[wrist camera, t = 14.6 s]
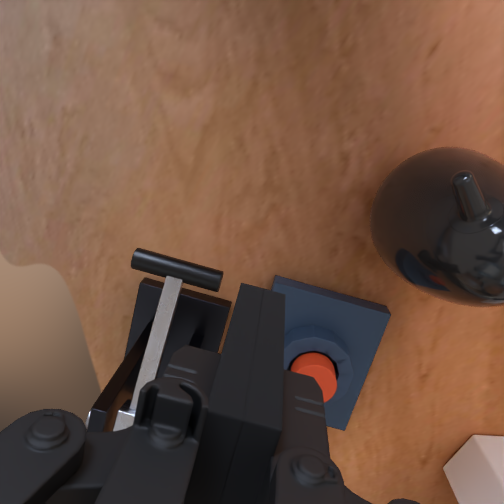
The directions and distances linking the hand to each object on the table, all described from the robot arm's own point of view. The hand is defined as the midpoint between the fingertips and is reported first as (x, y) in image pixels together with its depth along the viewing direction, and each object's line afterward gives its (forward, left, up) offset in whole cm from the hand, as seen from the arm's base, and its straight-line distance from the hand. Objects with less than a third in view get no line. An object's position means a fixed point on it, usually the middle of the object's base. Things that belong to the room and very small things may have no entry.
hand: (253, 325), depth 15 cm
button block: (+12, +7, -23) cm, 27 cm away
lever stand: (+15, -5, -23) cm, 28 cm away
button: (+12, +7, -20) cm, 24 cm away
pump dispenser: (-3, +12, -23) cm, 26 cm away
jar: (+19, +27, -23) cm, 41 cm away
